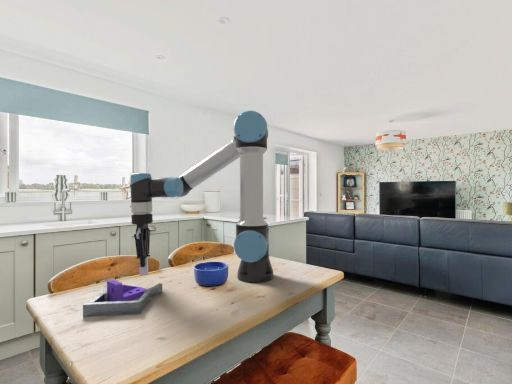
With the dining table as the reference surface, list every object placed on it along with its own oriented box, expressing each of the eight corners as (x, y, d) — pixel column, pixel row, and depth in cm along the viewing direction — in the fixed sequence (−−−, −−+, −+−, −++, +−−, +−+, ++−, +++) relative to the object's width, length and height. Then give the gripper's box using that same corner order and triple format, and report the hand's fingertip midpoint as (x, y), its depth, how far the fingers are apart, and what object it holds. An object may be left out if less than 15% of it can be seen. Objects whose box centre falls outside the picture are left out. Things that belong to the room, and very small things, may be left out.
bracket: (117, 306, 89) (116, 285, 89) (107, 301, 93) (106, 281, 93) (151, 295, 98) (151, 275, 98) (141, 291, 102) (140, 272, 102)
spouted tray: (162, 291, 101) (162, 281, 101) (147, 313, 82) (147, 301, 82) (104, 293, 99) (104, 284, 99) (75, 317, 80) (75, 305, 80)
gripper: (137, 212, 113) (139, 270, 113) (125, 215, 100) (127, 280, 100) (156, 211, 114) (158, 269, 114) (147, 214, 101) (149, 279, 101)
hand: (144, 274), depth 107 cm, fingers closed
